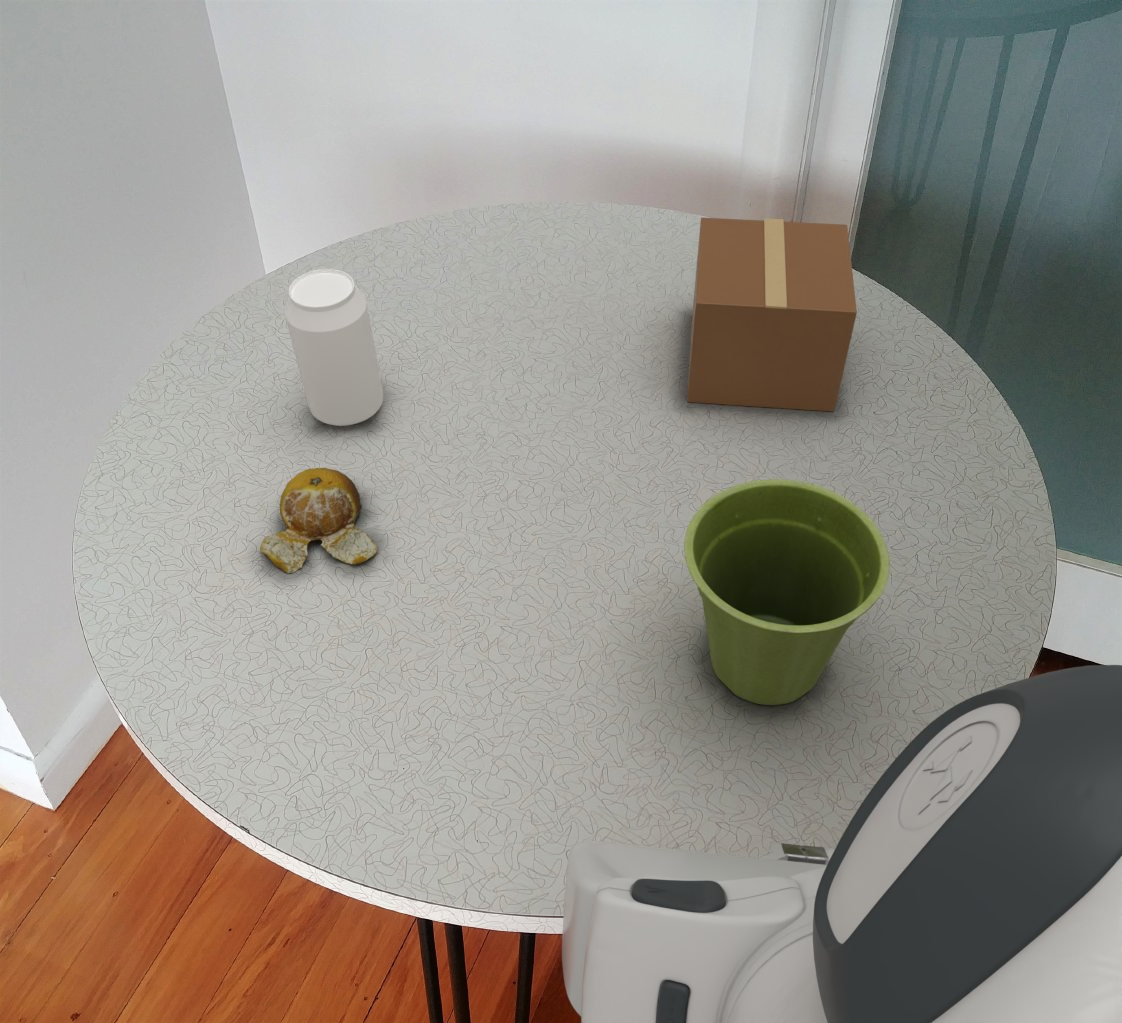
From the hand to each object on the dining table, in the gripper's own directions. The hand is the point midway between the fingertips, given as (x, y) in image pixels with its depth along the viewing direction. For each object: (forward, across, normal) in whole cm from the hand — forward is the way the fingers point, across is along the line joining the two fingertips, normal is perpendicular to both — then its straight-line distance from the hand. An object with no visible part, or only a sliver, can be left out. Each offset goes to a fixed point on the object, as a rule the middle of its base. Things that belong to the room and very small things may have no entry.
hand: (799, 861), depth 48 cm
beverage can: (+38, +34, -20) cm, 55 cm away
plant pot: (+23, 0, -5) cm, 24 cm away
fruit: (+28, +33, -10) cm, 45 cm away
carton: (+45, 0, -27) cm, 53 cm away
